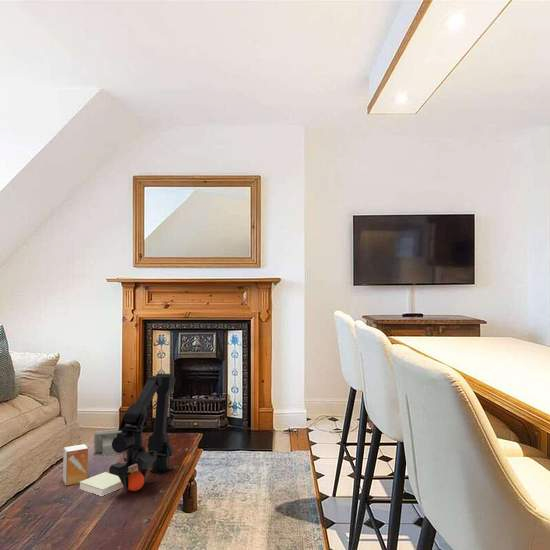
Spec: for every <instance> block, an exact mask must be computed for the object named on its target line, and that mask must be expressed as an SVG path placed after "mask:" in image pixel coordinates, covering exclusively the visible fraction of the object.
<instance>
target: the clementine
mask: <svg viewBox="0 0 550 550" xmlns="http://www.w3.org/2000/svg"><path fill="white" fill-rule="evenodd" d="M129 472H130V473H131V474H130V475H129V477H128V491H131V492H137V491H139V490H140V489H142V487H143V486H144V484H145V478H144V476H143V474H142V473H141V472H139V471H138V470H132V471H129Z"/></svg>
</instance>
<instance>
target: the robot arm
mask: <svg viewBox="0 0 550 550" xmlns="http://www.w3.org/2000/svg"><path fill="white" fill-rule="evenodd" d="M175 383H176V377H175V376H174V374H173V373H165V372H158V373H156V375H150V376H147V379H146V382H145V385H144V387H143V388H142V390H141V392H140V394H139V396H138V397H137V399H136V401H135V402H134V403H132V404H131V405H129V406H128V408H127V409H126V411H125V412H124V414H123V415H122V419H121V421H120V424H119V426H118V428H117V429H118V431H122V432H119V433H117V437H116V438H114V439H113V442H112V448H113V450H114V451H115V452H117V453H122V452H123V453H124V452H126V453H125V455H126V457H124V458H123V462H126V463H121V462H119V461H118V462H116V463H114V464H111V465H110V466H109V469H108V470H109V471H108V472H109V473H110V474H113V475H117V476H118V477H119V478H120V480H121V482H122V484H123V486H124V488H123V489H124V490H125V491H129V489H128V477H129V475H130V474H131V473H130V472H131V471H129V468H132V467H134V466H137V469H138V470H137V471H139V472H141V473H142V474H143V476H144V479H145V477H146V474H147V473H148V469H149V468H150V467H152V468H150V469H149V471H150V472H152V473H156V474H163V473H167V472H169V471H170V470H172V469H173V467H171V466H170V457H172V456H173V453H174V448H173V446H172V445H171V443H170V436H169V434H168V432H167V424H168V423H167V422H168V412H169V401H170V395H171V393H172V392H173V390H174V388H175ZM155 394H156V403H155V404H156V406H155V418H154V426H153V427H154V429H153V432H152V433H151V434H150V435H149V436H148V442H147V451H146V447H145V445H143V430H145V429H146V427H145V426H144V424H145V422H146V420H147V417H148V412H147V411H148V407H149V406H150V404H151V402H152V400H153V399H154V396H155Z"/></svg>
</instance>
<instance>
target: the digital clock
mask: <svg viewBox="0 0 550 550" xmlns="http://www.w3.org/2000/svg"><path fill="white" fill-rule="evenodd" d="M118 429H119V428H116V429H105V430H97V431H94V434H93V436H94V437H93V441H94V443H93V444H94V445H93V451H94V453H97V454H99V453H100V452H101V453H102V455H101V456H102V457H105V456H104V455H107V456H114V455H113V454H117V455H122V454H121V453H117V452H115V451H114V450H113V448H112V442H113V439H114V438H116V437H117V433H119V432H122V431H118ZM122 453H123V454H124V452H122Z"/></svg>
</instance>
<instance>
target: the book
mask: <svg viewBox="0 0 550 550" xmlns="http://www.w3.org/2000/svg"><path fill="white" fill-rule="evenodd" d="M122 487H124V486H123V484H122V482H121V480H120V478H119V477H118V476H117V475H113V474H110V473H109V471H104V472H101V473H99V474H96V475H94V476H91V477H89V478H88V479H86V480H83V481H80V483H79V490H80V489H81V490H80V491H83V490H84V491H83V492H86V491H87V492H86V493H89V492H90V493H89V494H92V493H94V494H96V495H95V496H97V495H99V496H98V497H100V496H104V495H106V494H108V493H111V492H113V491H116V490H118V489H120V488H122ZM122 489H123V488H122ZM120 490H121V489H120ZM118 491H119V490H118ZM116 492H117V491H116ZM113 493H114V492H113ZM94 494H93V495H94ZM111 494H112V493H111ZM106 496H107V495H106ZM104 497H105V496H104Z"/></svg>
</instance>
